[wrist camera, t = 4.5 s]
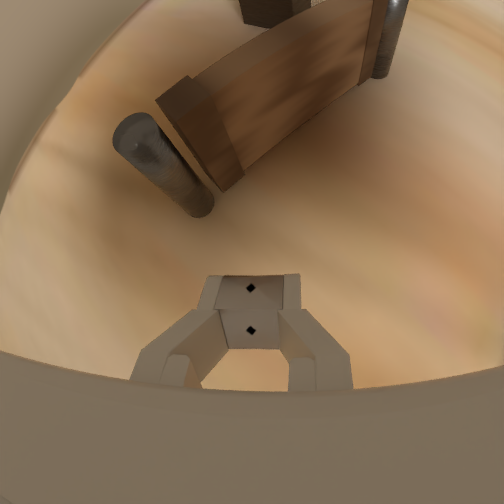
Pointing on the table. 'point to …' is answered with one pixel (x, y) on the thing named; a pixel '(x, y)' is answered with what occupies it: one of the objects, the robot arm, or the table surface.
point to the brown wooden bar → (273, 85)
